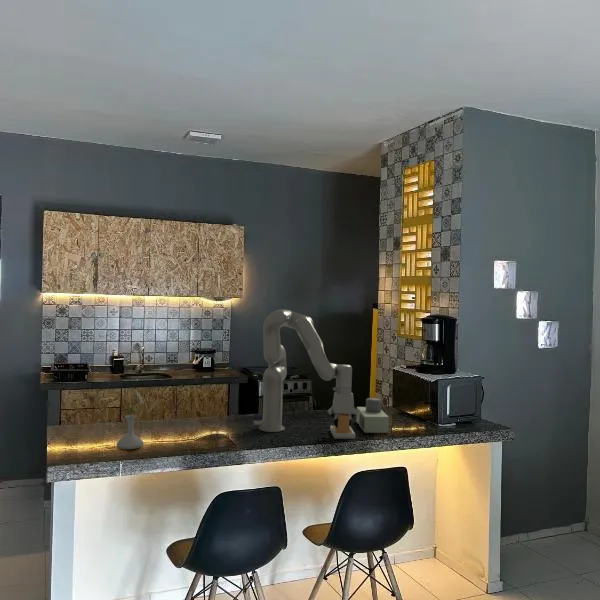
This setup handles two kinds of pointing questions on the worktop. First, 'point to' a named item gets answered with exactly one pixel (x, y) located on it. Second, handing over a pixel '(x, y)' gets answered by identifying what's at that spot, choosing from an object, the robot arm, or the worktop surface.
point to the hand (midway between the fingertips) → (342, 426)
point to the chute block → (343, 423)
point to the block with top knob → (372, 417)
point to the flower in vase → (131, 429)
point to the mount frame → (342, 434)
